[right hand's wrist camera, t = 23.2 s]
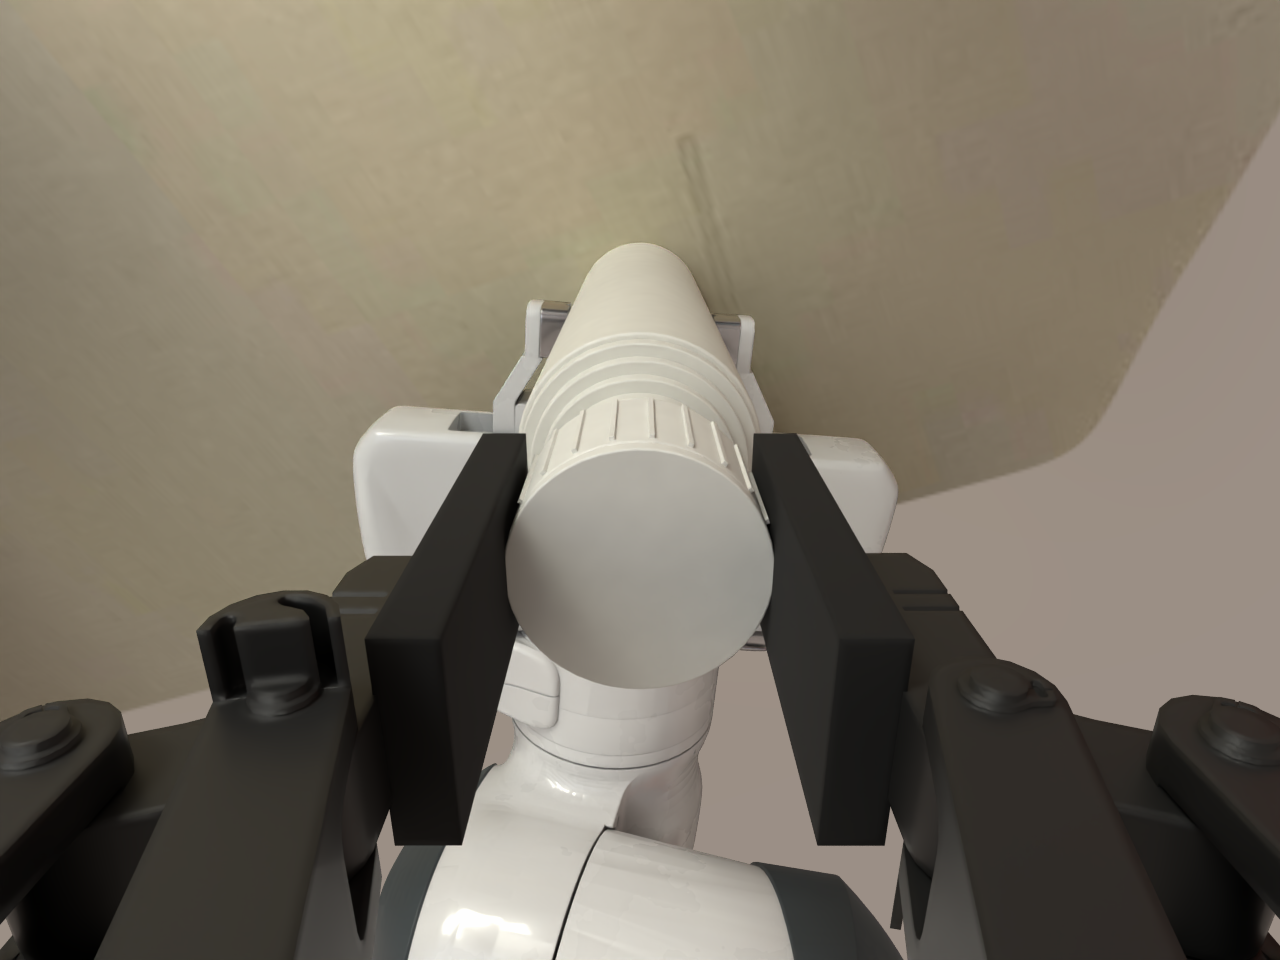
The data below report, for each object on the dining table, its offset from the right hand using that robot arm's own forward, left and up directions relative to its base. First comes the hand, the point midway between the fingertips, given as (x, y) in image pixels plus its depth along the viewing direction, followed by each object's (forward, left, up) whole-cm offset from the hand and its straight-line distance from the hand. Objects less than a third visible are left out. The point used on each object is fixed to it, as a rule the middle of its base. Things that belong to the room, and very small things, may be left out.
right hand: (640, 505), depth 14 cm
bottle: (0, 0, -22) cm, 22 cm away
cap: (0, 0, 0) cm, 0 cm away
